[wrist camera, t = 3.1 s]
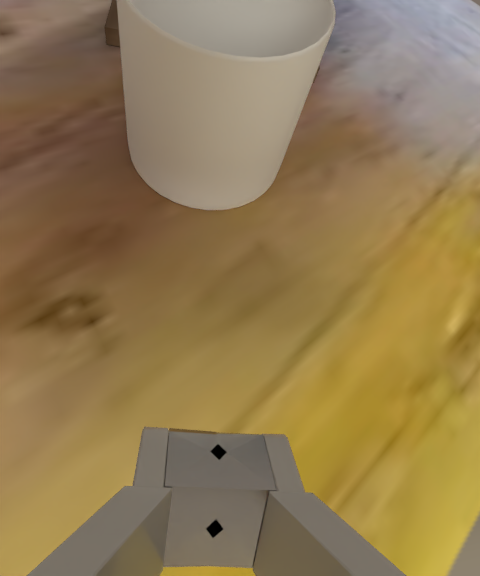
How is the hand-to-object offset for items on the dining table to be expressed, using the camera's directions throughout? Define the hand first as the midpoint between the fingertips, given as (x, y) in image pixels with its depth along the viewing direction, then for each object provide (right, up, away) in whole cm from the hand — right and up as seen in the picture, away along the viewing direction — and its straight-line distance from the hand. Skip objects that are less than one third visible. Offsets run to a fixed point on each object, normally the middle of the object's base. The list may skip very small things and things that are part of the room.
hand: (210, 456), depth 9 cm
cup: (-2, +14, +24) cm, 28 cm away
